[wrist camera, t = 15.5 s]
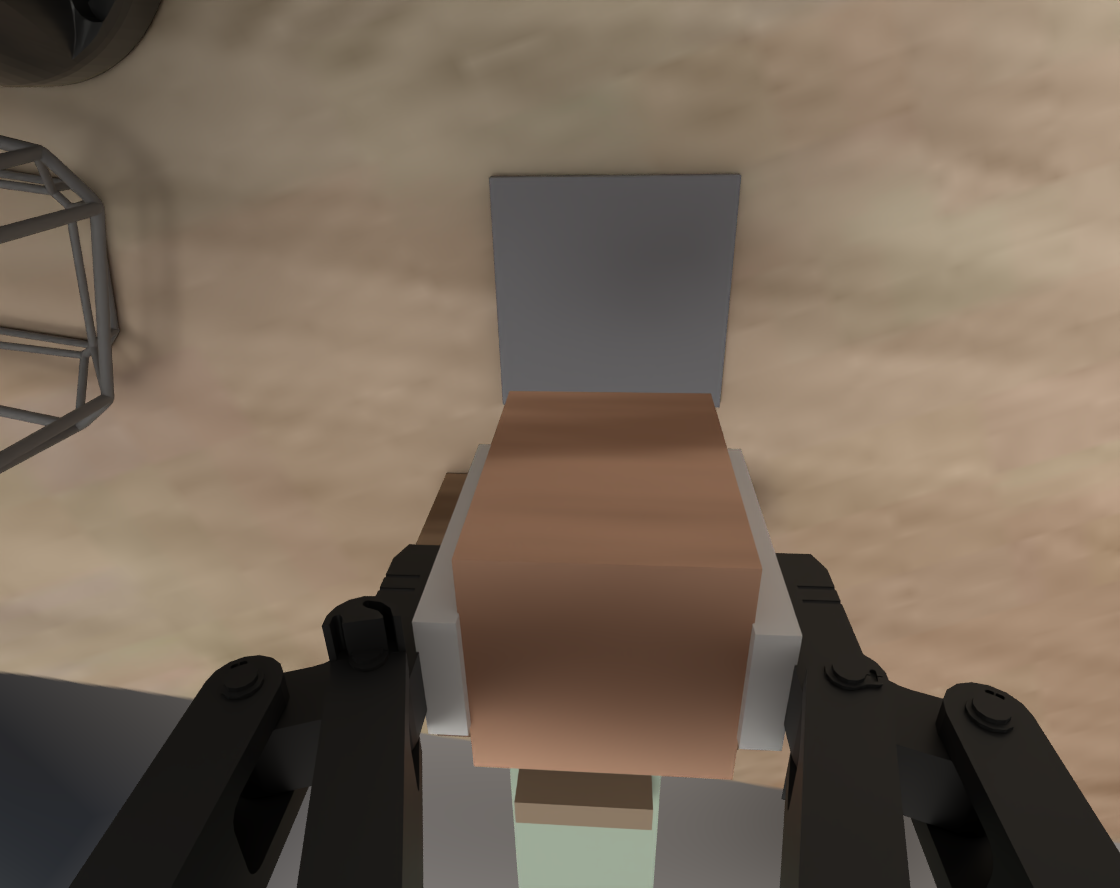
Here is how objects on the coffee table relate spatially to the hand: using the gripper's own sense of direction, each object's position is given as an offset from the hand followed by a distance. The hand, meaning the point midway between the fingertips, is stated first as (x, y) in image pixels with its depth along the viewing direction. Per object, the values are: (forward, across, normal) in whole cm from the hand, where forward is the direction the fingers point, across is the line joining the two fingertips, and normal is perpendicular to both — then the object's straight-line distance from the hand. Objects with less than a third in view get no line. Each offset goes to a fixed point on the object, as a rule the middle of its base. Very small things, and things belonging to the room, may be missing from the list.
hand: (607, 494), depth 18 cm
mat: (+18, 0, 0) cm, 18 cm away
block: (+1, 0, 0) cm, 1 cm away
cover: (+11, -1, -30) cm, 31 cm away
